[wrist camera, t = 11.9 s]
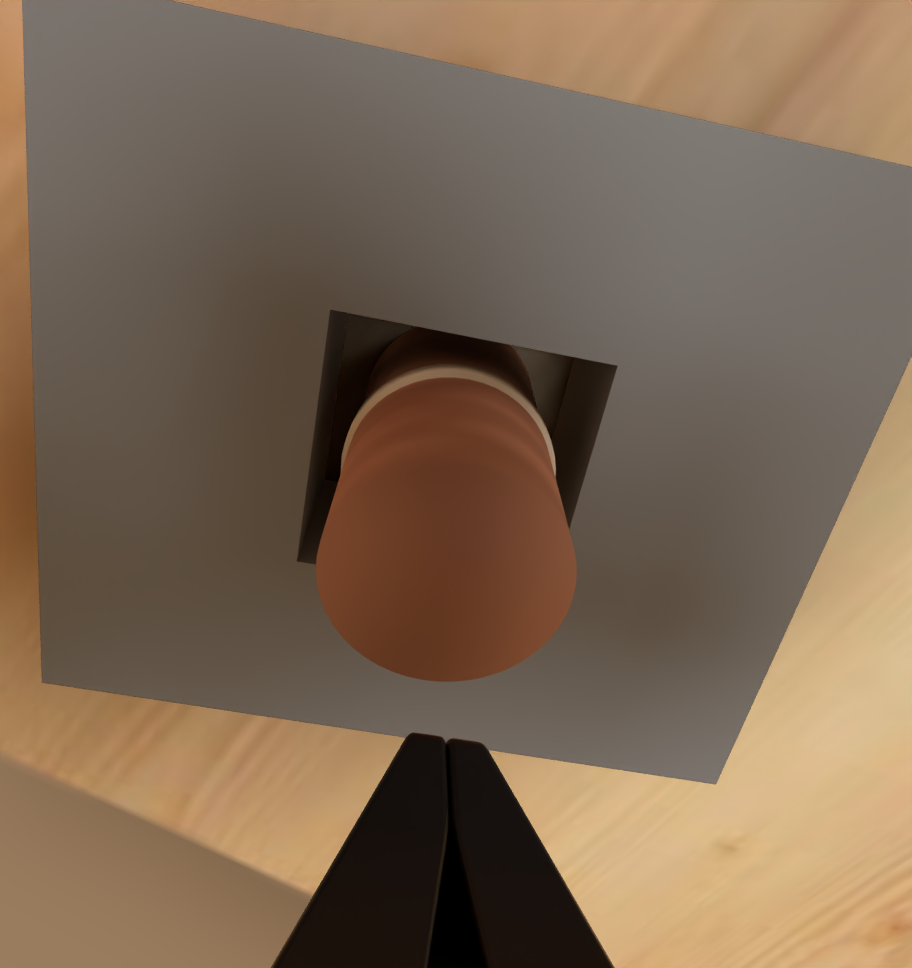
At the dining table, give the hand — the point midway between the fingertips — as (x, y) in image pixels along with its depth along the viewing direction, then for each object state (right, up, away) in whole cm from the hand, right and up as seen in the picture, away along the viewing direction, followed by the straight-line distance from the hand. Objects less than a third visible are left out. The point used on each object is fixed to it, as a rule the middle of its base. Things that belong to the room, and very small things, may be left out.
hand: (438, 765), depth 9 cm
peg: (0, +5, +11) cm, 12 cm away
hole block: (0, +5, +11) cm, 12 cm away
